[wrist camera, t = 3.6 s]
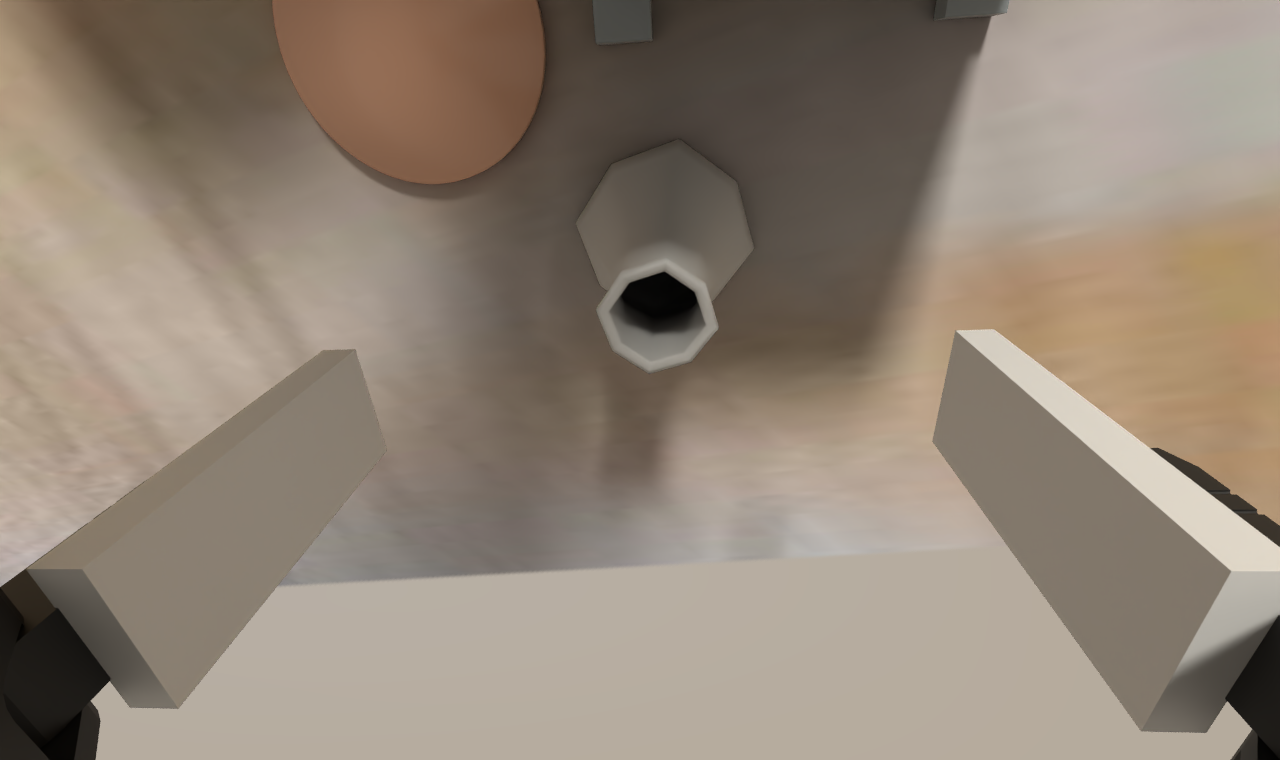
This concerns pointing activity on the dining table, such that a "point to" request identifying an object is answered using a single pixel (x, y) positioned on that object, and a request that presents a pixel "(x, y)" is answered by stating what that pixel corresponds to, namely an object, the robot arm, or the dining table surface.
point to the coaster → (417, 79)
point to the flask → (663, 252)
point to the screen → (630, 17)
